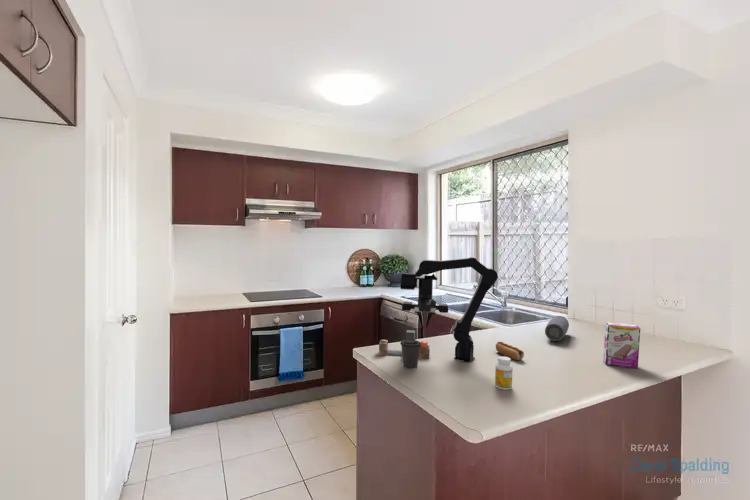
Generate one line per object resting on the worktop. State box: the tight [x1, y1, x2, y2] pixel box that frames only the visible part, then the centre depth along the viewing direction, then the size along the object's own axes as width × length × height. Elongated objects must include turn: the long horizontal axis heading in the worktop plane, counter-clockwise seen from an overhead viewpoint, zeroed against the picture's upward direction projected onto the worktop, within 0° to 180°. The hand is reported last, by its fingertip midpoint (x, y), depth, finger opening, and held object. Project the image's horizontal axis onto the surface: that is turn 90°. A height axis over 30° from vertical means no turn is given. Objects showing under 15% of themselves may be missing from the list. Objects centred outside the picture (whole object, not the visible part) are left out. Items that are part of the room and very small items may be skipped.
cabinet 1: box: [378, 339, 389, 357], centre depth 155 cm, size 3×5×6 cm, turn 171°
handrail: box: [387, 349, 402, 356], centre depth 154 cm, size 13×2×2 cm, turn 81°
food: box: [495, 341, 525, 361], centre depth 155 cm, size 14×6×5 cm, turn 22°
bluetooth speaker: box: [544, 315, 570, 342], centre depth 185 cm, size 23×9×10 cm, turn 147°
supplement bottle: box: [494, 355, 513, 391], centre depth 123 cm, size 5×5×10 cm
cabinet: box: [418, 344, 431, 359], centre depth 153 cm, size 5×5×4 cm
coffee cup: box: [399, 339, 421, 370], centre depth 140 cm, size 8×8×10 cm
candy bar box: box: [602, 321, 641, 369], centre depth 146 cm, size 11×5×16 cm, turn 71°
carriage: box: [405, 329, 416, 340], centre depth 153 cm, size 5×6×10 cm
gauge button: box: [420, 340, 429, 349], centre depth 153 cm, size 3×3×4 cm
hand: (424, 327), depth 152 cm, fingers closed
